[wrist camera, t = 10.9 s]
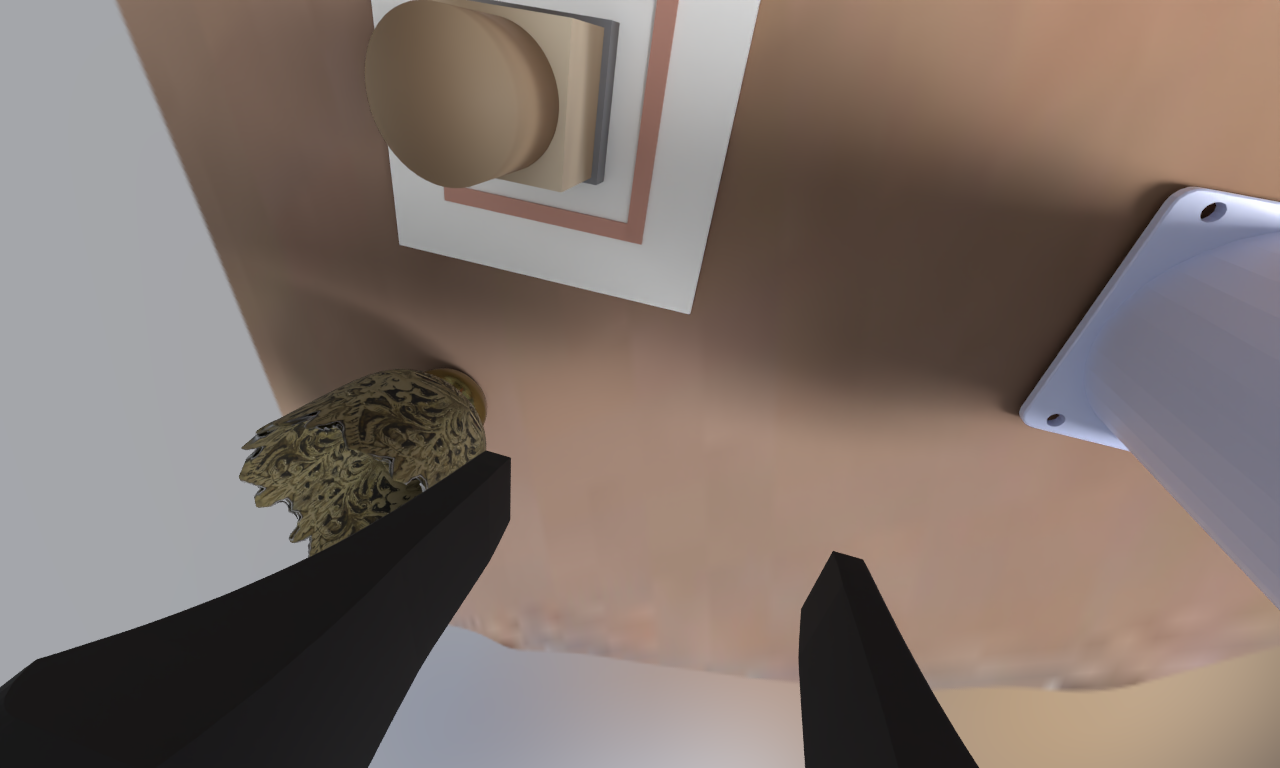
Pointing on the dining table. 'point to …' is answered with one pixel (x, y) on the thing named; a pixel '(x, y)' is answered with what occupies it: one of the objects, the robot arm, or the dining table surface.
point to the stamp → (493, 92)
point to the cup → (366, 449)
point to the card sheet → (612, 164)
